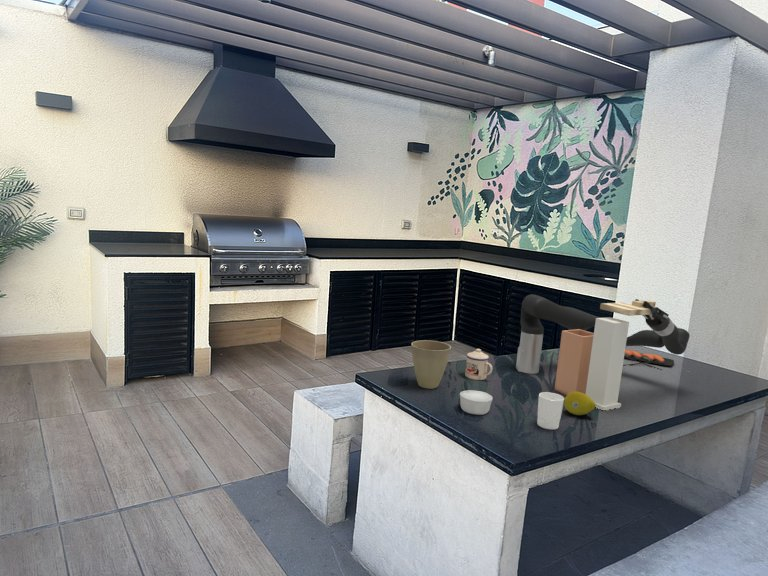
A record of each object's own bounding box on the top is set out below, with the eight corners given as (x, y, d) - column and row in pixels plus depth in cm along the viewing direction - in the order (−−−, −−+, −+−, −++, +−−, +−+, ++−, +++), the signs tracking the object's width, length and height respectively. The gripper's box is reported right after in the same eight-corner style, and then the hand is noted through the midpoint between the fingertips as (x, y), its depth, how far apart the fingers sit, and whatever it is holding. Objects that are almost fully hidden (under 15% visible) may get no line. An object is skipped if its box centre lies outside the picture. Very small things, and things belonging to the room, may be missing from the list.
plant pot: (436, 378, 222) (440, 339, 220) (453, 391, 208) (457, 350, 206) (402, 380, 217) (405, 340, 214) (417, 393, 203) (421, 350, 201)
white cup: (543, 431, 177) (547, 401, 175) (530, 421, 184) (534, 392, 183) (565, 430, 179) (569, 400, 178) (551, 420, 187) (555, 391, 185)
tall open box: (571, 387, 224) (579, 329, 220) (592, 395, 216) (600, 335, 212) (554, 390, 219) (562, 330, 215) (574, 398, 211) (583, 336, 207)
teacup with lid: (459, 375, 228) (462, 348, 227) (473, 372, 235) (476, 345, 233) (483, 383, 220) (486, 355, 218) (497, 380, 226) (500, 352, 224)
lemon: (557, 411, 196) (560, 389, 194) (569, 407, 201) (572, 386, 199) (585, 422, 187) (588, 399, 186) (597, 417, 192) (600, 395, 191)
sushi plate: (674, 363, 277) (675, 356, 277) (668, 377, 252) (670, 369, 251) (612, 351, 292) (613, 344, 292) (601, 363, 267) (602, 355, 266)
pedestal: (597, 398, 213) (609, 316, 208) (620, 407, 205) (633, 322, 200) (580, 401, 208) (591, 317, 203) (603, 411, 199) (615, 323, 194)
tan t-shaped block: (636, 307, 217) (638, 298, 217) (665, 313, 207) (667, 304, 207) (599, 308, 206) (601, 299, 205) (628, 315, 196) (630, 306, 195)
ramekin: (469, 401, 199) (470, 387, 198) (497, 410, 192) (498, 396, 191) (452, 409, 190) (453, 394, 189) (480, 419, 183) (482, 403, 182)
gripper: (647, 310, 223) (627, 290, 214) (681, 318, 212) (661, 297, 202) (639, 327, 222) (619, 307, 213) (673, 335, 211) (652, 315, 201)
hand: (640, 302), depth 208 cm, fingers closed on tan t-shaped block, 3 cm apart
